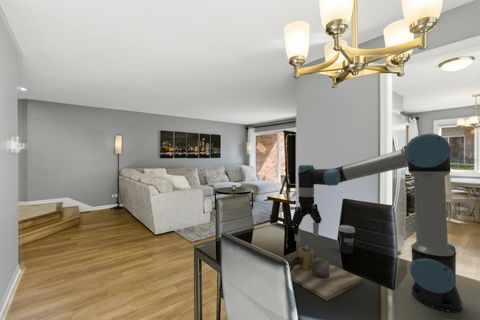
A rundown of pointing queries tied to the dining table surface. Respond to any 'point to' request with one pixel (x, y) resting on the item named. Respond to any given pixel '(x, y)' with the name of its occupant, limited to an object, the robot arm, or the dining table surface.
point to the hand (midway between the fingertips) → (306, 238)
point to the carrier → (322, 277)
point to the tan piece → (306, 258)
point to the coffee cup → (346, 238)
